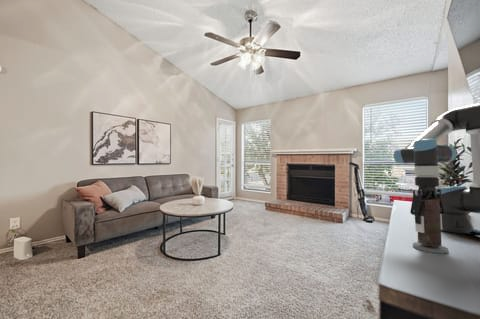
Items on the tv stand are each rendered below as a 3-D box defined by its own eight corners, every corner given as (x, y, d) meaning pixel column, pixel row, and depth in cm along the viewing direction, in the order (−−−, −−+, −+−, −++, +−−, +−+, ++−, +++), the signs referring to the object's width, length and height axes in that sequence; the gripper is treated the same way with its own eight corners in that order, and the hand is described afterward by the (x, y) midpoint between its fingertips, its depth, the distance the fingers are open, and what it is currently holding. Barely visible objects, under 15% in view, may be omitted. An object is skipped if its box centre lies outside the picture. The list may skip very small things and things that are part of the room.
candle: (447, 250, 85) (444, 198, 86) (425, 249, 86) (422, 198, 87) (434, 243, 92) (431, 195, 93) (414, 242, 94) (411, 195, 94)
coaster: (423, 243, 96) (423, 240, 96) (455, 251, 86) (455, 249, 86) (406, 246, 93) (406, 243, 93) (437, 255, 82) (437, 253, 82)
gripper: (433, 175, 98) (436, 225, 97) (397, 176, 90) (400, 231, 89) (454, 176, 91) (457, 230, 90) (417, 177, 83) (420, 236, 82)
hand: (429, 230), depth 90 cm, fingers open, 10 cm apart
